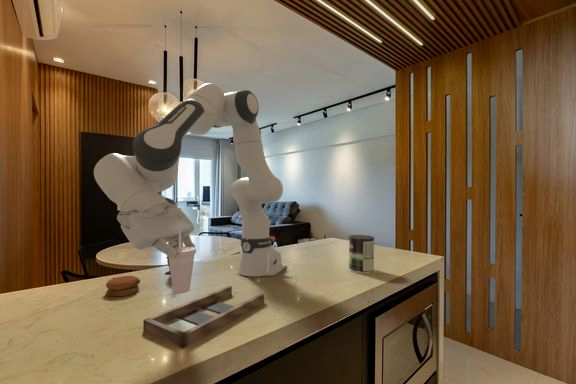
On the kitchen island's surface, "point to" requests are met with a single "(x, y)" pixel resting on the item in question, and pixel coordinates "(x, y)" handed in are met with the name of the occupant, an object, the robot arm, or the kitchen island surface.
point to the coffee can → (361, 253)
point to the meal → (173, 244)
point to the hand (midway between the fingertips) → (184, 252)
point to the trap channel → (197, 318)
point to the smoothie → (182, 268)
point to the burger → (122, 286)
